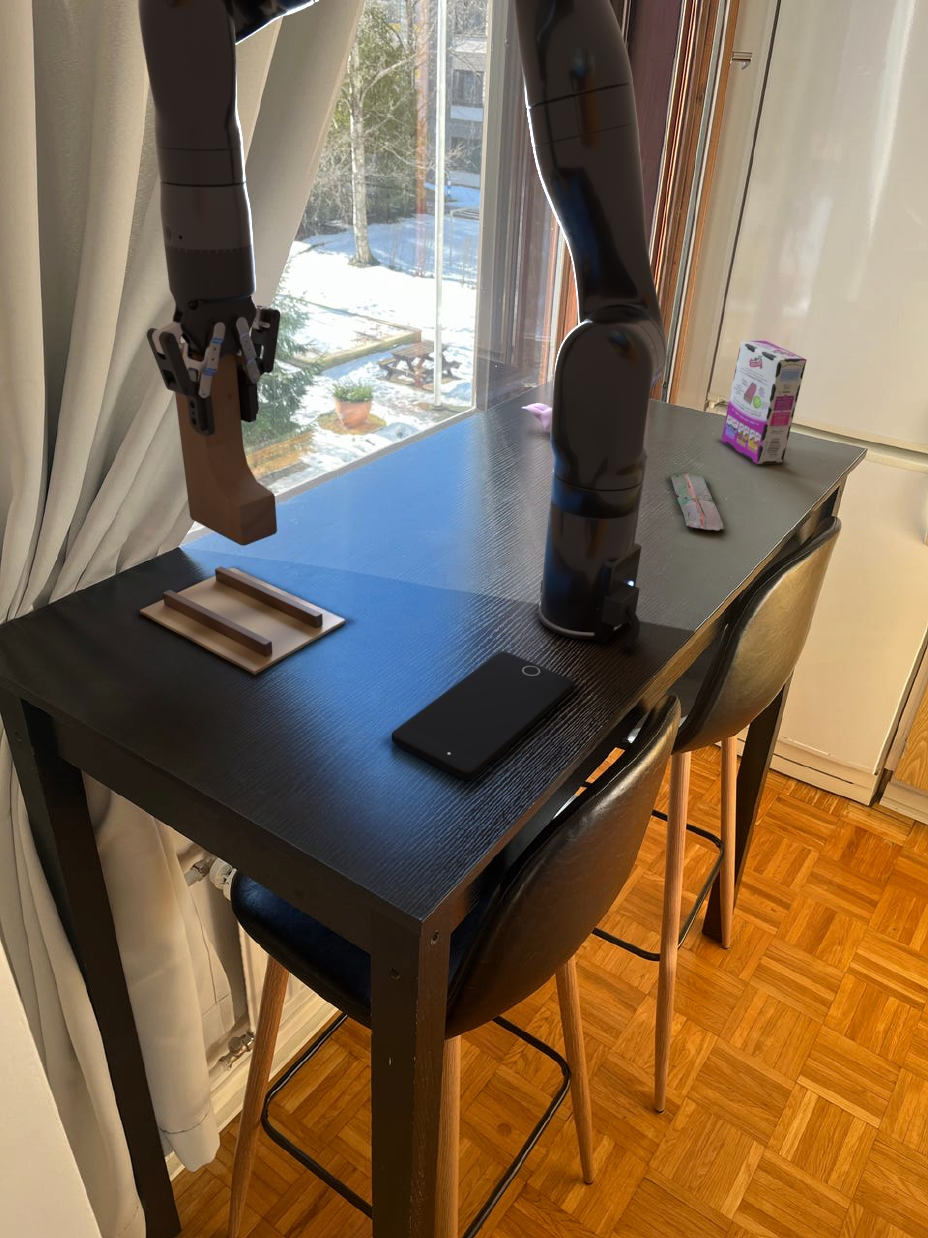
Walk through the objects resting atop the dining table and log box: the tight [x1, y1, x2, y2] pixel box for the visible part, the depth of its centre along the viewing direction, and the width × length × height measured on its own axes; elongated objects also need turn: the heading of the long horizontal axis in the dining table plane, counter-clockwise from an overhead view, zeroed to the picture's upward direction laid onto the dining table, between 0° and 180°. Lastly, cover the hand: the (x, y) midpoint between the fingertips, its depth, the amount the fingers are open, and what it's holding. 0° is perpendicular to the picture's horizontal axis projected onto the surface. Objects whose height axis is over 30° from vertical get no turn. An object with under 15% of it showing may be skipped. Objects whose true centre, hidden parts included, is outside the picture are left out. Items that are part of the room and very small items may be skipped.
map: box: [670, 472, 724, 531], centre depth 133 cm, size 5×20×1 cm, turn 176°
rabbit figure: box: [521, 402, 552, 434], centre depth 153 cm, size 6×6×15 cm
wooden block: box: [174, 342, 278, 547], centre depth 92 cm, size 9×4×18 cm, turn 48°
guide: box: [139, 565, 346, 675], centre depth 102 cm, size 18×13×2 cm
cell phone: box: [391, 650, 576, 781], centre depth 89 cm, size 9×18×1 cm, turn 144°
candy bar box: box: [721, 340, 808, 466], centre depth 147 cm, size 11×5×16 cm, turn 17°
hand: (226, 425), depth 91 cm, fingers closed on wooden block, 4 cm apart
